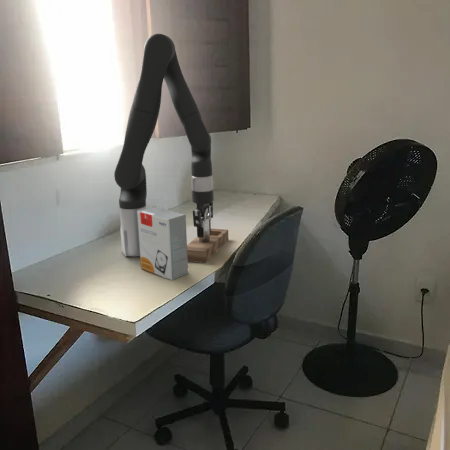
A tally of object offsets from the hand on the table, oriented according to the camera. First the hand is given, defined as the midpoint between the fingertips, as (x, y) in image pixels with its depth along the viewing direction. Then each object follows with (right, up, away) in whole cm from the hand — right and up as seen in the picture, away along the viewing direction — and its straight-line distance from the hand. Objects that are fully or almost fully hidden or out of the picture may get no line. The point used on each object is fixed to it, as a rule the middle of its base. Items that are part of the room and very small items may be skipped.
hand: (204, 234), depth 181 cm
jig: (+1, -6, +4) cm, 7 cm away
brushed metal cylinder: (0, -2, +1) cm, 3 cm away
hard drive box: (-12, -12, -15) cm, 23 cm away
